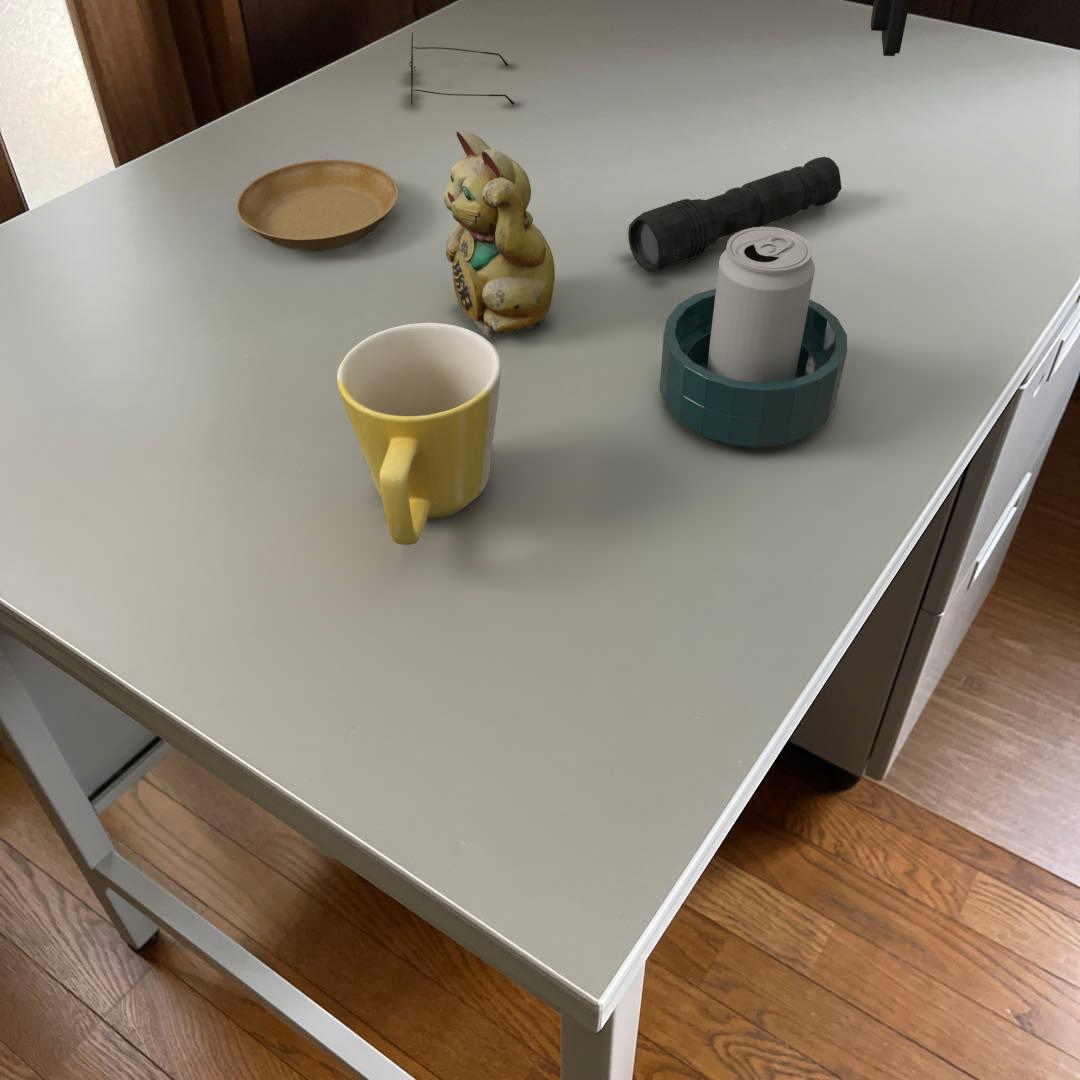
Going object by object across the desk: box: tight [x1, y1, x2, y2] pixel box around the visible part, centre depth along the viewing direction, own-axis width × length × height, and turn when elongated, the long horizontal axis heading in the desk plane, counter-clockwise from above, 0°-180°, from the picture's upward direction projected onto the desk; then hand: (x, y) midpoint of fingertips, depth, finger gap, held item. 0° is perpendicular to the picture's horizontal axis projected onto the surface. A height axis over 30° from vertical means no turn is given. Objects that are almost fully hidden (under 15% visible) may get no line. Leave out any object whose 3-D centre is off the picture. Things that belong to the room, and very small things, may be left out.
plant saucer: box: [235, 158, 399, 252], centre depth 102 cm, size 15×15×3 cm
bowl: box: [659, 288, 848, 449], centre depth 81 cm, size 13×13×6 cm
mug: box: [336, 322, 502, 546], centre depth 71 cm, size 14×10×10 cm
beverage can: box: [707, 226, 816, 383], centre depth 78 cm, size 6×6×12 cm
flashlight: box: [627, 156, 842, 272], centre depth 98 cm, size 5×21×5 cm, turn 122°
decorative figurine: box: [443, 130, 556, 338], centre depth 86 cm, size 10×8×15 cm
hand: (991, 50), depth 53 cm, fingers open, 9 cm apart
